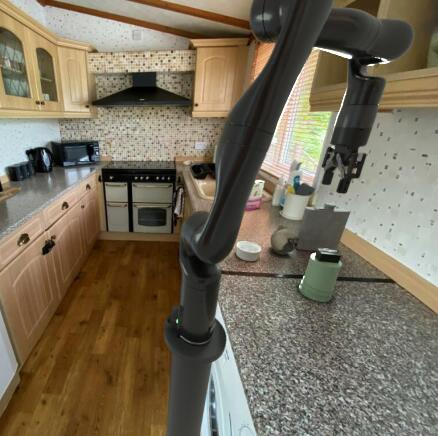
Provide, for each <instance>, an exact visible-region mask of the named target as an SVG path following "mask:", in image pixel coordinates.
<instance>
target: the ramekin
mask: <svg viewBox="0 0 438 436" xmlns="http://www.w3.org/2000/svg"><path fill="white" fill-rule="evenodd" d="M235 246H236V251H235V254H236V257H238V258H239V259H240V260H243V261H247V262H256V261H257V260H258V259H259V256H260V254H261V251H262V248H261V246H260V245H259V244H257V243H256V242H252V241H248V240H243V241H242V240H241V241H238V242H237V243H235Z"/></svg>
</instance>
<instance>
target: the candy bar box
mask: <svg viewBox="0 0 438 436" xmlns="http://www.w3.org/2000/svg"><path fill="white" fill-rule="evenodd" d="M265 183H266V181H264V180H261V179H256V181H255V184H254V187H253V189H252V192H251V195H250V197H249V200H248V203H247V206H246V209H245V211H251V210H259V209H260V208H261V205H262V199H263V194H264V190H265V189H264V188H265Z"/></svg>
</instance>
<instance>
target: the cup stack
mask: <svg viewBox="0 0 438 436" xmlns="http://www.w3.org/2000/svg"><path fill="white" fill-rule="evenodd" d="M315 254H316V252H314V253H311V254H310V256H309V259H308V262H307V263H308V264H307V266H306V269H305V272H304V275H303V276H302V279H301V281H300V284H299V286H298V290H299V292H300V293H301V295H303V296H305V297H306V298H308V299H309V300H311V301H315V302H318V303H328V302H330V301H331V299H332V296H333V294H334V289H335V285H336V282H337V279H338V278H339V274H340V271H341V269H342V266H343V263H342V261H341V260H340V261H339V263H330V262H321V261H318V259H317V258H316V257H315Z"/></svg>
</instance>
